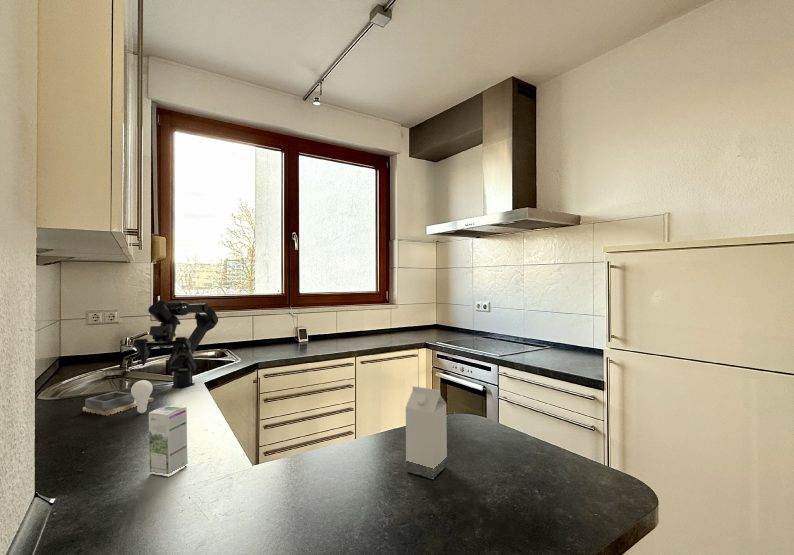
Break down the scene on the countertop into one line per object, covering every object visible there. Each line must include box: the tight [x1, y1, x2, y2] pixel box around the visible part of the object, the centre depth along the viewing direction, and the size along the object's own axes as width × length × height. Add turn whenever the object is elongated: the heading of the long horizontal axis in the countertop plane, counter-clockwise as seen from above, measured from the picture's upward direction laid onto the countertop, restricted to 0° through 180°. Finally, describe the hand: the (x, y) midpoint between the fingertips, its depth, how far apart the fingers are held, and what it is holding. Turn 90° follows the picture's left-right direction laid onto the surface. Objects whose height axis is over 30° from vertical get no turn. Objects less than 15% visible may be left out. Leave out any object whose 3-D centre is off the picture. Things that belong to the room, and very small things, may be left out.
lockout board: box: [82, 390, 154, 417], centre depth 138 cm, size 16×13×4 cm
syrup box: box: [148, 405, 189, 474], centre depth 91 cm, size 6×6×14 cm
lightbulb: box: [130, 379, 153, 414], centre depth 130 cm, size 6×6×11 cm
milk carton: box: [405, 385, 448, 469], centre depth 90 cm, size 7×7×19 cm
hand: (156, 364), depth 143 cm, fingers open, 9 cm apart
